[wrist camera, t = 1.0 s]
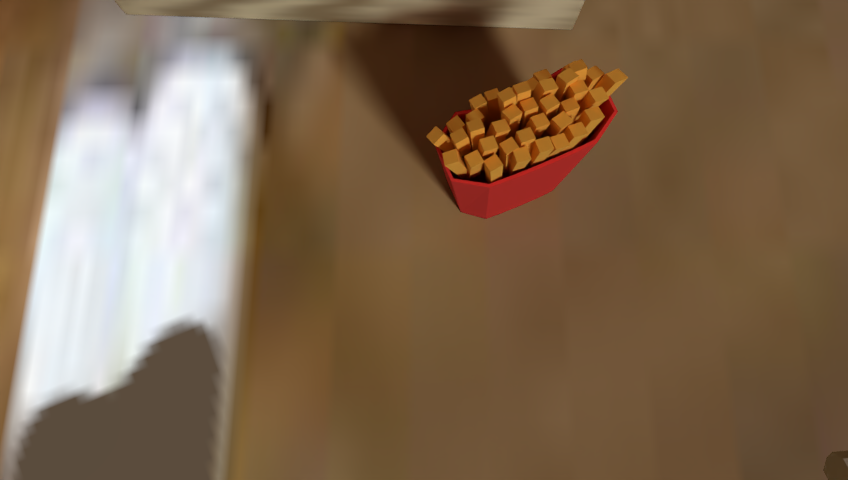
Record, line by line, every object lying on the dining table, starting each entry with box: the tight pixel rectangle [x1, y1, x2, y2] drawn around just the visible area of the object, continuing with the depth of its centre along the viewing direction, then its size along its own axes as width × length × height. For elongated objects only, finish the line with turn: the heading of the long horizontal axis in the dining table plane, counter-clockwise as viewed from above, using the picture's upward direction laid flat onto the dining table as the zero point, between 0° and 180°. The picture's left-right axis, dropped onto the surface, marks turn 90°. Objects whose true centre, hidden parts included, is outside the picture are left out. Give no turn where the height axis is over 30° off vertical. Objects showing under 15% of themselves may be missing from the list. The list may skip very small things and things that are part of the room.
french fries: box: [426, 59, 628, 219], centre depth 36 cm, size 8×4×12 cm, turn 113°
